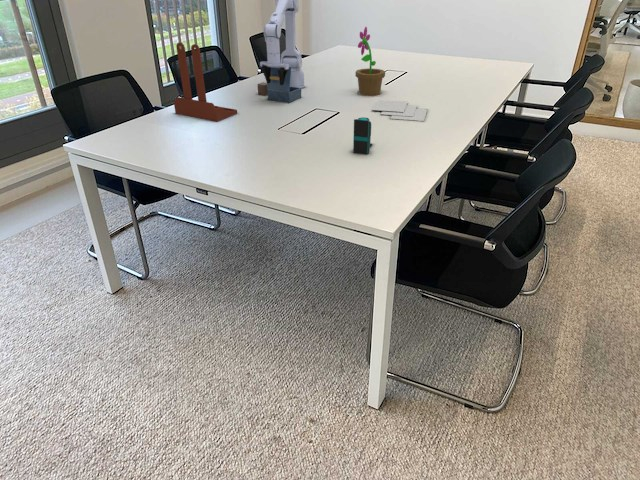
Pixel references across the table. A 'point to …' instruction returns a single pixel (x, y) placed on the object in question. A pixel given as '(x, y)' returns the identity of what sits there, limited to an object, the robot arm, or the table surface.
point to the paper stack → (400, 110)
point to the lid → (276, 82)
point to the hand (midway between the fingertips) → (275, 83)
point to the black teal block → (362, 136)
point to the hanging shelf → (201, 105)
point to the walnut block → (262, 88)
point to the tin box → (285, 95)
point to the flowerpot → (368, 71)
